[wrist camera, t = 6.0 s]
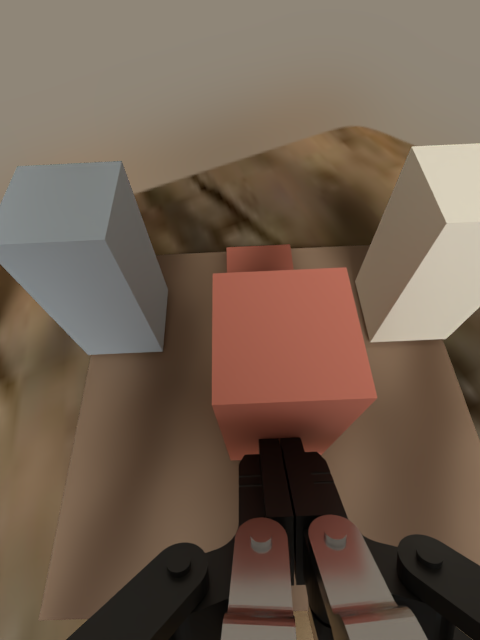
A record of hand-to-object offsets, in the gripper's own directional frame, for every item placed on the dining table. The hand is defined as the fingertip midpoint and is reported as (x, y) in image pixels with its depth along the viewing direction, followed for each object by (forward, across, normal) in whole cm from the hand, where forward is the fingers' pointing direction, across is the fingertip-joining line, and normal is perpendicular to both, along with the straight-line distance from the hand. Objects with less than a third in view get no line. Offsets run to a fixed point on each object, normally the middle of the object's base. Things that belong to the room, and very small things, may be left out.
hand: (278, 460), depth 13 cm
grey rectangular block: (+8, +7, -3) cm, 12 cm away
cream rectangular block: (+8, -8, -3) cm, 12 cm away
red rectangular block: (+4, 0, +1) cm, 4 cm away
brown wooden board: (+7, 0, +1) cm, 7 cm away
